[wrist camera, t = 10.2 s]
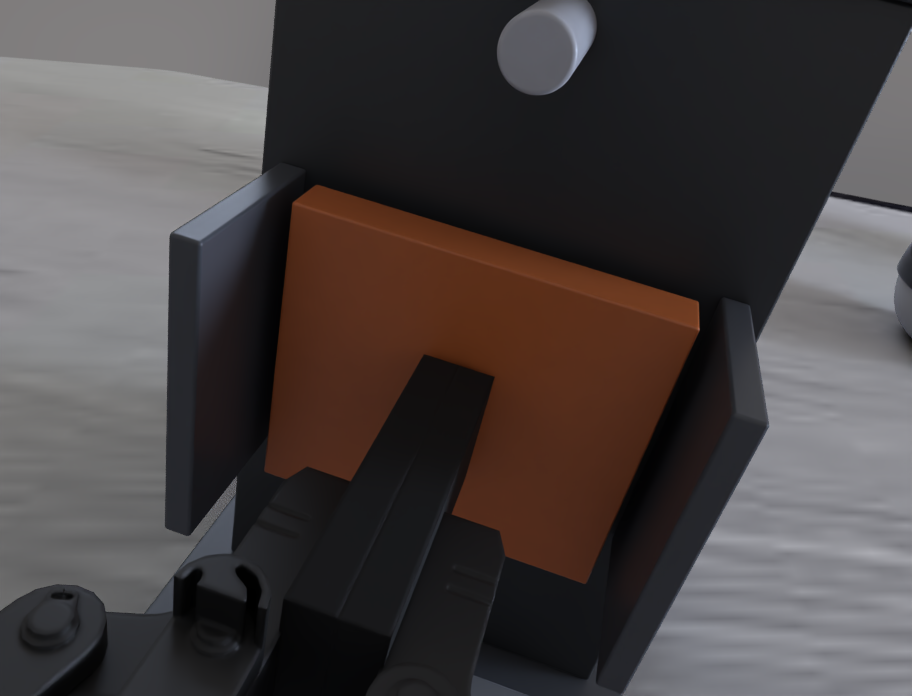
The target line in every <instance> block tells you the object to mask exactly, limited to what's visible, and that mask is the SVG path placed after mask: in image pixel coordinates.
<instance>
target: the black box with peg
mask: <svg viewBox="0 0 912 696" xmlns="http://www.w3.org/2000/svg"><path fill="white" fill-rule="evenodd" d="M911 31H912V0H276V6H275V19H274V31H273V44H272V56H271V68H270V80H269V92H268V104H267V117H266V129H265V141H264V154H263V166H262V175H261V176H259V177H258V178H256V179H255V180H253V181H252V182H250V183H248V184H247V185H245V186H244V187H242V188H241V189H239V190H237V191H236V192H234V193H233V194H231V195H230V196H228V197H226V198H225V199H223V200H222V201H220V202H219V203H217V204H215V205H214V206H212V207H211V208H209V209H208V210H206V211H204V212H203V213H201V214H200V215H198V216H197V217H195V218H194V219H192V220H190V221H189V222H187V223H186V224H184V225H183V226H181V227H179V228H178V229H176V230H175V231H173V232H172V233H171V234H170V245H169V308H168V372H167V435H166V499H165V527H166V528H167V529H169V530H172V531H175V532H177V533H180V534H183V535H186V536H189V535H191V533H192V532H193V531H194V529H195V528H196V527H197V526H198V524H199V523H200V522H201V521H202V519H203V518H204V517H205V515H206V514H207V513H208V512H209V510H210V509H211V508H212V507H213V505H214V504H215V503H216V501H217V500H218V499H219V498H220V496H221V495H222V494H223V493H224V491H225V490H226V489H227V487H228V486H229V485H230V484H231V482H232V481H233V480H234V479H235V477H236V476H237V485H236V494H235V496H234V497H233V498H232V500H231V501H230V502H229V503H228V505H227V506H226V507H225V509H224V510H223V511H222V513H221V514H220V515H219V517H218V518H217V519H216V520H215V522H214V523H213V524H212V526H211V527H210V528H209V530H208V531H207V532H206V534H205V535H204V536H203V538H202V539H201V540H200V541H199V543H198V544H197V545H196V547H195V548H194V549H193V551H192V552H191V553H190V555H189V556H188V557H187V558H186V560H185V561H184V562H183V564H182V565H181V566H180V568H179V569H178V570H177V572H178V571H180V570H181V569H182V568H183V567H184V566H185V565H186V564H187V563H189V562H192V561H194V560H196V559H199V558H201V557H203V556H205V555H214V554H223V553H226V554H232V555H233V553H234V552H235V550H236V549H237V547H238V546H239V545H240V543H241V542H242V540H243V539H244V537H245V536H246V534H247V533H248V532H249V530H250V529H251V527H252V526H253V524H255V523H256V521H257V519H258V517H259V516H260V514H261V513H262V511H263V510H264V508H265V507H266V506H268V504H269V501H270V500H271V498H272V497H273V495H274V494H275V493H276V491H277V490H278V488H279V487H280V485H281V484H282V482H283V481H284V480H286V479H284V478H281V477H278V476H275V475H272V474H270V473H267V472H265V471H264V468H265V458H266V449H267V439H268V430H269V420H270V411H271V401H272V392H273V383H274V373H275V364H276V354H277V345H278V335H279V326H280V316H281V307H282V297H283V288H284V278H285V269H286V259H287V250H288V241H289V231H290V222H291V212H292V204H293V202H294V201H295V200H297V199H298V198H299V197H301V196H302V195H303V194H305V193H306V192H307V191H309V190H310V189H311V188H313V187H314V186H315V185H320V186H324V187H327V188H330V189H333V190H337V191H340V192H343V193H346V194H350V195H353V196H356V197H359V198H363V199H366V200H369V201H372V202H376V203H379V204H382V205H386V206H389V207H392V208H395V209H399V210H402V211H405V212H408V213H412V214H415V215H418V216H421V217H425V218H428V219H431V220H434V221H438V222H441V223H444V224H448V225H451V226H454V227H457V228H461V229H464V230H467V231H470V232H474V233H477V234H480V235H483V236H487V237H490V238H493V239H496V240H500V241H503V242H506V243H510V244H513V245H516V246H519V247H523V248H526V249H529V250H532V251H536V252H539V253H542V254H545V255H549V256H552V257H555V258H558V259H562V260H565V261H568V262H571V263H575V264H578V265H581V266H585V267H588V268H591V269H594V270H598V271H601V272H604V273H607V274H611V275H614V276H617V277H620V278H624V279H627V280H630V281H633V282H637V283H640V284H643V285H647V286H650V287H653V288H656V289H660V290H663V291H666V292H669V293H673V294H676V295H679V296H682V297H686V298H689V299H692V300H695V301H698V302H699V328H700V330H699V333H698V335H697V337H696V339H695V342H694V344H693V346H692V348H691V351H690V353H689V355H688V357H687V360H686V362H685V364H684V366H683V368H682V371H681V373H680V375H679V377H678V380H677V382H676V384H675V386H674V389H673V391H672V393H671V395H670V398H669V400H668V402H667V404H666V407H665V409H664V411H663V413H662V415H661V418H660V420H659V422H658V424H657V427H656V429H655V431H654V433H653V436H652V438H651V440H650V442H649V445H648V447H647V449H646V451H645V454H644V456H643V458H642V460H641V463H640V465H639V467H638V469H637V471H636V474H635V476H634V478H633V480H632V483H631V485H630V487H629V489H628V492H627V494H626V496H625V498H624V501H623V503H622V505H621V507H620V510H619V512H618V514H617V516H616V518H615V521H614V523H613V525H612V527H611V530H610V532H609V534H608V536H607V539H606V541H605V543H604V545H603V548H602V550H601V552H600V554H599V557H598V559H597V561H596V563H595V565H594V568H593V570H592V572H591V574H590V577H589V579H588V581H587V583H586V584H583V583H580V582H578V581H575V580H572V579H569V578H566V577H563V576H560V575H558V574H555V573H552V572H549V571H546V570H543V569H541V568H538V567H535V566H532V565H529V564H526V563H523V562H521V561H518V560H515V559H512V558H509V557H506V556H505V560H504V564H503V567H502V571H501V575H500V578H499V582H498V585H497V590H496V593H495V597H494V601H493V604H492V608H491V612H490V615H489V619H488V623H487V626H486V630H485V634H484V637H483V641H482V645H481V648H480V652H479V656H478V660H477V663H476V667H475V671H474V674H473V678H472V685H471V696H622V694H623V693H624V691H625V690H626V688H627V686H628V684H629V682H630V681H631V679H632V677H633V675H634V673H635V671H636V670H637V668H638V666H639V664H640V662H641V660H642V659H643V657H644V655H645V653H646V651H647V649H648V648H649V646H650V644H651V642H652V640H653V638H654V637H655V635H656V633H657V631H658V629H659V627H660V626H661V624H662V622H663V620H664V618H665V616H666V615H667V613H668V611H669V609H670V607H671V605H672V604H673V602H674V600H675V598H676V596H677V594H678V593H679V591H680V589H681V587H682V585H683V583H684V582H685V580H686V578H687V576H688V574H689V572H690V571H691V569H692V567H693V565H694V563H695V561H696V560H697V558H698V556H699V554H700V552H701V550H702V549H703V547H704V545H705V543H706V541H707V539H708V538H709V536H710V534H711V532H712V530H713V528H714V527H715V525H716V523H717V521H718V519H719V517H720V516H721V514H722V512H723V510H724V508H725V506H726V505H727V503H728V501H729V499H730V497H731V495H732V494H733V492H734V490H735V488H736V486H737V484H738V483H739V481H740V479H741V477H742V475H743V473H744V472H745V470H746V468H747V466H748V464H749V462H750V461H751V459H752V457H753V455H754V453H755V451H756V450H757V448H758V446H759V444H760V442H761V440H762V439H763V437H764V435H765V433H766V431H767V429H768V428H769V421H768V415H767V409H766V403H765V397H764V390H763V384H762V378H761V372H760V365H759V359H758V353H757V347H756V342H757V340H758V338H759V336H760V334H761V332H762V330H763V328H764V326H765V324H766V322H767V320H768V318H769V316H770V314H771V312H772V310H773V308H774V306H775V304H776V302H777V300H778V298H779V296H780V294H781V292H782V290H783V288H784V286H785V284H786V282H787V280H788V278H789V276H790V274H791V272H792V270H793V268H794V266H795V264H796V262H797V260H798V258H799V256H800V254H801V252H802V250H803V248H804V246H805V244H806V242H807V240H808V238H809V236H810V234H811V232H812V230H813V228H814V226H815V224H816V222H817V220H818V218H819V216H820V214H821V212H822V210H823V208H824V206H825V204H826V202H827V200H828V198H829V196H830V194H831V192H832V190H833V188H834V186H835V184H836V182H837V180H838V178H839V176H840V174H841V172H842V170H843V167H844V166H845V164H846V162H847V159H848V158H849V156H850V154H851V152H852V150H853V148H854V146H855V143H856V142H857V139H858V137H859V136H860V134H861V132H862V129H863V128H864V125H865V123H866V122H867V119H868V117H869V115H870V113H871V111H872V109H873V107H874V105H875V103H876V101H877V99H878V97H879V95H880V93H881V91H882V89H883V87H884V85H885V83H886V81H887V79H888V77H889V75H890V73H891V71H892V69H893V67H894V65H895V63H896V61H897V59H898V57H899V55H900V53H901V51H902V49H903V47H904V45H905V43H906V41H907V39H908V37H909V35H910V33H911ZM177 572H176V573H177ZM176 573H175V574H176ZM175 574H174V575H175ZM174 575H173V577H172V578H171V579H170V581H169V582H168V583H167V585H166V586H165V587H164V589H163V590H162V591H161V593H160V594H159V595H158V596H157V598H156V599H155V600H154V602H153V603H152V604H151V606H150V607H149V608H148V610H147V611H146V612H145V613H144V614H159V613H165V612H169V611H173V587H174Z"/></svg>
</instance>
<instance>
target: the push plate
mask: <svg viewBox="0 0 912 696" xmlns="http://www.w3.org/2000/svg"><path fill="white" fill-rule="evenodd" d="M699 330H700V328H699V302H698V301H695V300H692V299H689V298H686V297H682V296H679V295H676V294H673V293H669V292H666V291H663V290H660V289H656V288H653V287H650V286H647V285H643V284H640V283H637V282H633V281H630V280H627V279H624V278H620V277H617V276H614V275H611V274H607V273H604V272H601V271H598V270H594V269H591V268H588V267H585V266H581V265H578V264H575V263H571V262H568V261H565V260H562V259H558V258H555V257H552V256H549V255H545V254H542V253H539V252H536V251H532V250H529V249H526V248H523V247H519V246H516V245H513V244H510V243H506V242H503V241H500V240H496V239H493V238H490V237H487V236H483V235H480V234H477V233H474V232H470V231H467V230H464V229H461V228H457V227H454V226H451V225H448V224H444V223H441V222H438V221H434V220H431V219H428V218H425V217H421V216H418V215H415V214H412V213H408V212H405V211H402V210H399V209H395V208H392V207H389V206H386V205H382V204H379V203H376V202H372V201H369V200H366V199H363V198H359V197H356V196H353V195H350V194H346V193H343V192H340V191H337V190H333V189H330V188H327V187H324V186H320V185H315V186H314V187H313V188H311V189H310V190H309V191H307V192H306V193H305V194H303V195H302V196H301V197H299V198H298V199H297V200H295V201H294V202H293V204H292V212H291V222H290V231H289V241H288V250H287V259H286V269H285V278H284V288H283V297H282V307H281V316H280V326H279V335H278V345H277V354H276V364H275V373H274V383H273V392H272V401H271V411H270V420H269V430H268V439H267V449H266V458H265V468H264V471H265V472H267V473H270V474H272V475H275V476H278V477H281V478H284V479H288V478H289V477H291V476H292V475H294V474H296V473H297V472H299V471H301V470H302V469H304V468H305V467H307V466H308V467H311V468H313V469H316V470H319V471H322V472H325V473H328V474H331V475H334V476H337V477H340V478H342V479H345V480H348V481H351V480H352V478H353V477H354V475H355V473H356V471H357V470H358V468H359V466H360V464H361V463H362V461H363V459H364V457H365V456H366V454H367V452H368V450H369V449H370V447H371V445H372V444H373V442H374V440H375V438H376V437H377V435H378V433H379V431H380V430H381V428H382V426H383V424H384V423H385V421H386V419H387V417H388V416H389V414H390V412H391V410H392V409H393V407H394V405H395V404H396V402H397V400H398V398H399V397H400V395H401V393H402V391H403V390H404V388H405V386H406V384H407V383H408V381H409V379H410V377H411V376H412V374H413V372H414V371H415V369H416V367H417V365H418V364H419V362H420V360H421V358H422V357H423V355H424V354H426V355H429V356H432V357H435V358H438V359H441V360H444V361H447V362H450V363H453V364H457V365H460V366H463V367H466V368H469V369H472V370H475V371H478V372H481V373H484V374H487V375H490V376H494V377H495V378H494V381H493V385H492V388H491V392H490V395H489V399H488V402H487V405H486V409H485V412H484V416H483V419H482V423H481V426H480V429H479V433H478V436H477V440H476V443H475V447H474V450H473V454H472V457H471V460H470V464H469V467H468V471H467V474H466V478H465V480H464V483H463V485H462V488H461V491H460V493H459V496H458V499H457V501H456V504H455V507H454V509H453V512H452V515H455V516H458V517H461V518H464V519H467V520H470V521H473V522H475V523H478V524H481V525H484V526H487V527H490V528H493V529H496V530H499V531H500V534H501V539H502V543H503V548H504V552H505V556H506V557H509V558H512V559H515V560H518V561H521V562H523V563H526V564H529V565H532V566H535V567H538V568H541V569H543V570H546V571H549V572H552V573H555V574H558V575H560V576H563V577H566V578H569V579H572V580H575V581H578V582H580V583H583V584H586V583H587V581H588V579H589V577H590V574H591V572H592V570H593V568H594V565H595V563H596V561H597V559H598V557H599V554H600V552H601V550H602V548H603V545H604V543H605V541H606V539H607V536H608V534H609V532H610V530H611V527H612V525H613V523H614V521H615V518H616V516H617V514H618V512H619V510H620V507H621V505H622V503H623V501H624V498H625V496H626V494H627V492H628V489H629V487H630V485H631V483H632V480H633V478H634V476H635V474H636V471H637V469H638V467H639V465H640V463H641V460H642V458H643V456H644V454H645V451H646V449H647V447H648V445H649V442H650V440H651V438H652V436H653V433H654V431H655V429H656V427H657V424H658V422H659V420H660V418H661V415H662V413H663V411H664V409H665V407H666V404H667V402H668V400H669V398H670V395H671V393H672V391H673V389H674V386H675V384H676V382H677V380H678V377H679V375H680V373H681V371H682V368H683V366H684V364H685V362H686V360H687V357H688V355H689V353H690V351H691V348H692V346H693V344H694V342H695V339H696V337H697V335H698V333H699Z"/></svg>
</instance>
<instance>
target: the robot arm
mask: <svg viewBox="0 0 912 696" xmlns="http://www.w3.org/2000/svg"><path fill="white" fill-rule="evenodd" d="M494 378H495V377H494V376H490V375H487V374H484V373H481V372H478V371H475V370H472V369H469V368H466V367H463V366H460V365H457V364H453V363H450V362H447V361H444V360H441V359H438V358H435V357H432V356H429V355H426V354H424V355H423V357H422V358H421V360H420V362H419V364H418V365H417V367H416V369H415V371H414V372H413V374H412V376H411V377H410V379H409V381H408V383H407V384H406V386H405V388H404V390H403V391H402V393H401V395H400V397H399V398H398V400H397V402H396V404H395V405H394V407H393V409H392V410H391V412H390V414H389V416H388V417H387V419H386V421H385V423H384V424H383V426H382V428H381V430H380V431H379V433H378V435H377V437H376V438H375V440H374V442H373V444H372V445H371V447H370V449H369V450H368V452H367V454H366V456H365V457H364V459H363V461H362V463H361V464H360V466H359V468H358V470H357V471H356V473H355V475H354V477H353V478H352V480H351V481H348V480H345V479H342V478H340V477H337V476H334V475H331V474H328V473H325V472H322V471H319V470H316V469H313V468H311V467H308V466H307V467H305V468H304V469H302V470H301V471H299V472H297V473H296V474H294V475H292V476H291V477H289V478H288V479H286V480H284V481H283V482H282V484H281V485H280V487H279V488H278V490H277V491H276V493H275V494H274V495H273V497H272V498H271V500H270V501H269V504H268V506H266V507H265V508H264V510H263V511H262V513H261V514H260V516H259V517H258V519H257V521H256V523H255V524H253V526H252V527H251V529H250V530H249V532H248V533H247V534H246V536H245V537H244V539H243V540H242V542H241V543H240V545H239V546H238V547H237V549H236V550H235V552H234V553H233V555H232V554H226V553H223V554H214V555H205V556H203V557H201V558H199V559H196V560H194V561H192V562H189V563H187V564H186V565H185V566H184V567H183V568H182V569H181V570H180V571H178V572H177V573H176V574H175V575H174V587H173V611H169V612H165V613H159V614H135V613H116V612H105V607H104V604H103V602H102V601H101V600H100V599H99V598H98V597H97V596H96V595H95V593H94V592H91V591H89V590H87V589H84V588H82V587H79V586H76V585H59V584H57V585H52V586H48V587H44V588H39V589H35V590H34V591H32V592H30V593H28V594H26V595H24V596H22V597H20V598H18V599H17V600H15V601H14V602H12V603H11V604H10V605H8V606H7V607H5V608H4V609H3V610H1V611H0V696H471V685H472V678H473V674H474V671H475V667H476V663H477V660H478V656H479V652H480V648H481V645H482V641H483V637H484V634H485V630H486V626H487V623H488V619H489V615H490V612H491V608H492V604H493V601H494V597H495V593H496V590H497V585H498V582H499V578H500V575H501V571H502V567H503V564H504V560H505V552H504V548H503V543H502V539H501V534H500V531H499V530H496V529H493V528H490V527H487V526H484V525H481V524H478V523H475V522H473V521H470V520H467V519H464V518H461V517H458V516H455V515H452V512H453V509H454V507H455V504H456V501H457V499H458V496H459V493H460V491H461V488H462V485H463V483H464V480H465V478H466V474H467V471H468V467H469V464H470V460H471V457H472V454H473V450H474V447H475V443H476V440H477V436H478V433H479V429H480V426H481V423H482V419H483V416H484V412H485V409H486V405H487V402H488V399H489V395H490V392H491V388H492V385H493V381H494Z"/></svg>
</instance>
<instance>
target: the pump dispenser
mask: <svg viewBox="0 0 912 696" xmlns="http://www.w3.org/2000/svg"><path fill="white" fill-rule="evenodd" d="M897 271H898V274H899V275H898V278H897V282H896V286H895V293H894V304H895V310H896V314H897V317H898V319H899V321H900V323H901V325H902V327H903V328H904V329H905V331H906V332H907V333H908V334H909V336H910V337H911V338H912V243H911V244H910V245H909V247H908V248H907V250H906V251H905V253H904V254H903V256H902V258H901V259H900V261H899V263H898V266H897Z"/></svg>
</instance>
